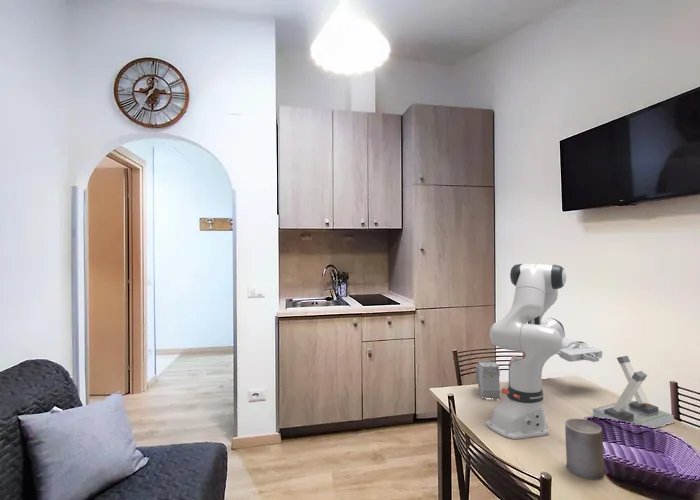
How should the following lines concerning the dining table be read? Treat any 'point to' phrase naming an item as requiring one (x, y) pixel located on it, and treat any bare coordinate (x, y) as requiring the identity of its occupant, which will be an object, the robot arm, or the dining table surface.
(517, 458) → the dining table surface
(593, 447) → the pillar candle
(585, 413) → the dining table surface
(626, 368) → the lever
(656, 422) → the panel
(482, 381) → the circuit breaker
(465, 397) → the dining table surface
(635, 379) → the left lever
